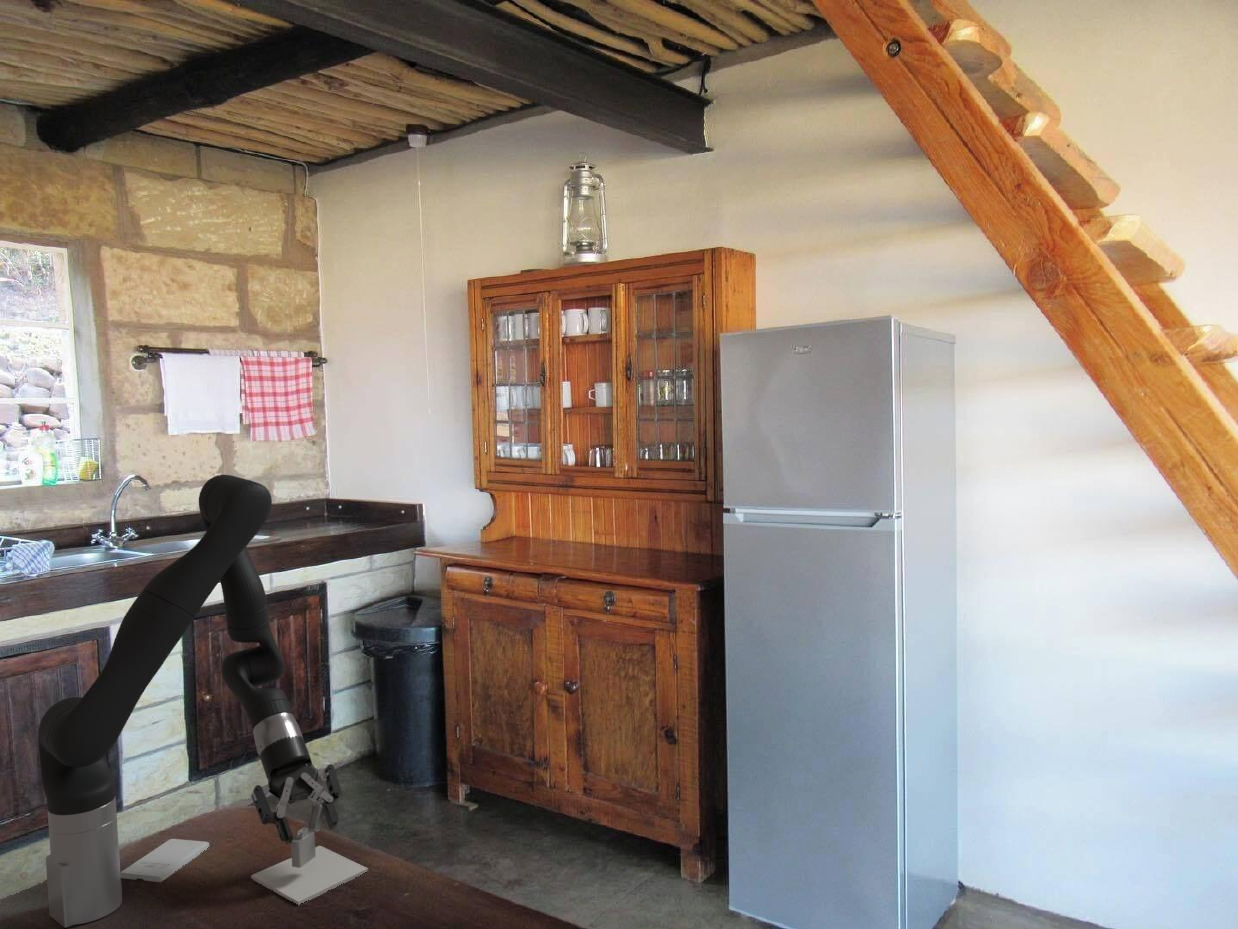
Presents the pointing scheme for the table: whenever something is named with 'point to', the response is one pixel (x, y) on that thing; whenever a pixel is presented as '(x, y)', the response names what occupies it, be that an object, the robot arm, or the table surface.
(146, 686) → the robot arm
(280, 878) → the mat
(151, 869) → the external hard drive
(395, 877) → the table surface
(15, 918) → the table surface
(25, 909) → the table surface
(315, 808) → the lighter
